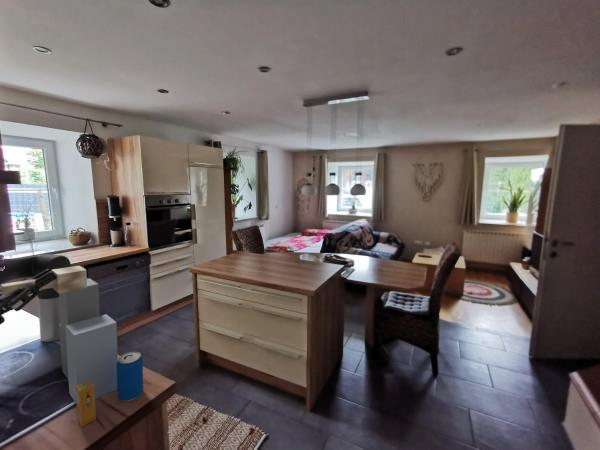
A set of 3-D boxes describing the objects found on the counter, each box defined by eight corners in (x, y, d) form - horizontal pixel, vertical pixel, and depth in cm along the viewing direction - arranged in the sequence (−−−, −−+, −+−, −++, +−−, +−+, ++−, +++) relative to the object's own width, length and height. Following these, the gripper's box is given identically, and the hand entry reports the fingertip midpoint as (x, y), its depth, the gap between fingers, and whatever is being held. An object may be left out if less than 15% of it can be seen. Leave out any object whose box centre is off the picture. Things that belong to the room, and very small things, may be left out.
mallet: (5, 304, 63) (3, 283, 63) (1, 297, 67) (-1, 277, 66) (87, 287, 76) (86, 270, 75) (79, 282, 79) (79, 265, 79)
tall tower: (62, 370, 91) (56, 282, 87) (91, 359, 97) (87, 277, 93) (73, 387, 84) (68, 292, 80) (104, 374, 90) (100, 285, 86)
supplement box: (92, 413, 75) (90, 378, 73) (96, 419, 73) (95, 384, 71) (76, 420, 72) (74, 385, 71) (80, 428, 70) (79, 391, 69)
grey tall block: (69, 393, 81) (65, 325, 79) (108, 376, 89) (106, 314, 87) (78, 406, 76) (74, 335, 74) (118, 387, 84) (116, 322, 82)
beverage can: (135, 384, 86) (134, 348, 85) (147, 392, 83) (147, 355, 81) (113, 397, 81) (111, 358, 79) (125, 406, 77) (123, 366, 76)
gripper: (-23, 325, 67) (55, 277, 78) (-16, 347, 59) (71, 289, 70) (-51, 305, 63) (36, 257, 74) (-47, 324, 55) (49, 267, 66)
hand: (52, 273), depth 72 cm, fingers closed on mallet, 2 cm apart
